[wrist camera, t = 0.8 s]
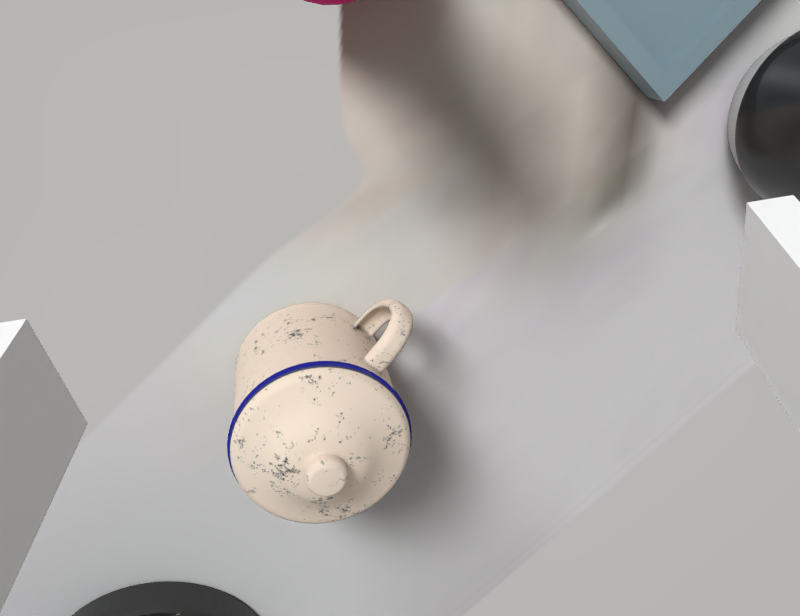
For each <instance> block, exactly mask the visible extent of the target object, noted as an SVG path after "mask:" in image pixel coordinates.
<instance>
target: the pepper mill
mask: <svg viewBox="0 0 800 616" xmlns="http://www.w3.org/2000/svg"><path fill="white" fill-rule="evenodd" d="M304 1H307V2H312V3H317V4H321V5H332V4H333V5H339V4H344V3H348V2H352V1H355V0H304Z"/></svg>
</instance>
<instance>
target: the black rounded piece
mask: <svg viewBox="0 0 800 616" xmlns="http://www.w3.org/2000/svg"><path fill="white" fill-rule="evenodd" d="M728 140H729V145H730V149H731V152H732V155H733V157H734V160H735V162H736V164H737V166H738V167H739V169H740V170H741V172H742V174H743V176H744V178H745V180H746V181H747V183H748V184H749V186H750V187H751V188H752V189H753V190H754V192H755V193H756V194H758V195H759V196H760V197H761V198H762V199H764V200H766V199H772V198H778V197H784V196H790V195H794V196H795V197H796V198H797V199H798V201H799V202H800V31H798V32H796V33H795V34H793V35H791V36H789V37H787V38H785V39H783V40H782V41H780V42H778V43H777V44H775V45H774V46H772V47H771V48H770V49H768V50H767V51H766V52H765V53H764V54H762V55H761V56H760V57H759V58H758V59H757V60H756V61H755V62H754V63H753V64H752V66H751V67H750V68H749V69H748V71H747V72H746V73H745V75H744V76H743V78H742V80H741V81H740V83H739V85H738V87H737V89H736V91H735V93H734V96H733V99H732V102H731V105H730V110H729V115H728Z"/></svg>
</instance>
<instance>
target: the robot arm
mask: <svg viewBox="0 0 800 616" xmlns="http://www.w3.org/2000/svg"><path fill="white" fill-rule="evenodd" d="M736 331H737V333H738V334H739V336H740V338H741V339H742V341H743V343H744V344H745V346H746V348H747V349H748V351H749V353H750V354H751V356H752V358H753V359H754V361H755V363H756V364H757V366H758V367H759V369H760V371H761V372H762V374H763V376H764V377H765V379H766V381H767V382H768V384H769V386H770V387H771V389H772V390H773V392H774V394H775V395H776V397H777V399H778V401H779V402H780V404H781V406H782V407H783V409H784V410H785V412H786V414H787V416H788V417H789V419H790V420H791V422H792V424H793V425H794V427H795V429H796V430H797V432H798V434H799V435H800V202H799V201H798V199H797V198H796V197H795V196H794V195H790V196H784V197H778V198H772V199H766V200H759V201H753V202H747V206H746V217H745V229H744V240H743V251H742V262H741V273H740V285H739V296H738V307H737V318H736ZM86 426H87V422H86V420H85V418H84V416H83V415H82V413H81V411H80V409H79V408H78V406H77V405H76V403H75V401H74V399H73V397H72V396H71V394H70V392H69V391H68V389H67V387H66V385H65V384H64V382H63V380H62V379H61V377H60V375H59V373H58V372H57V370H56V368H55V367H54V365H53V363H52V361H51V360H50V358H49V356H48V355H47V353H46V351H45V349H44V348H43V346H42V345H41V343H40V341H39V339H38V337H37V336H36V334H35V332H34V331H33V329H32V327H31V325H30V324H29V322H28V320H27V319H21V320H15V321H9V322H3V323H0V612H1V610H2V607H3V605H4V603H5V601H6V599H7V597H8V595H9V592H10V590H11V588H12V586H13V584H14V582H15V579H16V577H17V575H18V573H19V571H20V569H21V566H22V564H23V562H24V560H25V558H26V556H27V553H28V551H29V549H30V547H31V545H32V543H33V541H34V538H35V536H36V534H37V532H38V530H39V528H40V525H41V523H42V521H43V519H44V517H45V515H46V512H47V510H48V508H49V506H50V504H51V502H52V500H53V497H54V495H55V493H56V491H57V489H58V487H59V484H60V482H61V480H62V478H63V476H64V474H65V471H66V469H67V467H68V465H69V463H70V461H71V458H72V456H73V454H74V452H75V450H76V448H77V446H78V443H79V441H80V439H81V437H82V435H83V432H84V430H85V428H86ZM72 616H257V615H256V614H255V613H254V612H253V611H252V610H251V609H250V608H249V607H247V606H246V605H245V604H243V603H242V602H241V601H239V600H237V599H236V598H234V597H232V596H230V595H228V594H226V593H224V592H221V591H219V590H216V589H213V588H210V587H206V586H202V585H197V584H191V583H183V582H154V583H145V584H139V585H134V586H130V587H126V588H122V589H119V590H116V591H113V592H111V593H108V594H106V595H104V596H102V597H99V598H97V599H96V600H94V601H92V602H90V603H89V604H87V605H85V606H84V607H82V608H81V609H80V610H78V611H77V612H76V613H75V614H73V615H72Z"/></svg>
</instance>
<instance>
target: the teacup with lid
mask: <svg viewBox="0 0 800 616" xmlns="http://www.w3.org/2000/svg"><path fill="white" fill-rule="evenodd" d="M388 321H389V323H388V326H387V328H386V330H385V332H384V333H383V335H382V336H381V338H380V339H379V340H378V342H377V341H376V339H375V337H374V336H373V335H374V334H375V333H376V332H377V331H378V330H379V329H380V328H381V327H382V326H383V325H384V324H385V323H387V322H388ZM412 325H413V317H412V314H411V311H410V310H409V309H408V308H407V307H406V306H405V305H404V304H402V303H401V302H399V301H398V300H395V299H386V300H382V301H380V302H378V303H376V304H375V305H373V306H372V307H370V308H369V309H368V310H367V311H366V312H365V313H364V314H363V315H362V316H361V317H360V318H359V319H358V318H357V317H356V316H354V315H353V314H351V313H349V312H347V311H345V310H344V309H341V308H338V307H335V306H332V305H327V304H321V303H303V304H297V305H292V306H288V307H285V308H283V309H280V310H278V311H276V312H274V313H272V314H270V315H269V316H267V317H265V318H264V319H263V320H261V321H260V322H259V323H258V324H257V325H256V326H255V327H254V328H253V329H252V330H251V331H250V333H249V334H248V335H247V337H246V338H245V340H244V342H243V344H242V346H241V348H240V350H239V353H238V357H237V361H236V370H235V395H234V417H233V420H232V423H231V425H230V429H229V434H228V443H227V448H228V458H229V463H230V467H231V469H232V472H233V474H234V476H235V478H236V480H237V482H238V483H239V485H240V486H241V488H242V489H243V491H244V492H245V493H246V494H247V496H248V497H249V498H250V499H251V500H252V501H254V502H255V503H256V504H257V505H259V506H260V507H261V508H263V509H264V510H266V511H268V512H269V513H272V514H274V515H276V516H278V517H281V518H283V519H287V520H290V521H295V522H300V523H328V522H334V521H338V520H342V519H346V518H349V517H351V516H354V515H356V514H358V513H360V512H362V511H364V510H366V509H368V508H369V507H371V506H372V505H374V504H375V503H377V502H378V501H379V500H380V499H381V498H383V497H384V496H385V495H386V494H387V493H388V492H389V491H390V489H391V488H392V487H393V486H394V484H395V483H396V482H397V480H398V479H399V477H400V475H401V473H402V472H403V470H404V467H405V465H406V462H407V459H408V455H409V452H410V447H411V424H410V419H409V415H408V412H407V410H406V407H405V405H404V403H403V401H402V400H401V398H400V397H399V395H398V394H397V392H396V391H395V390H394V388H393V385H392V382H391V379H390V376H389V374H388V371H387V367H388V366H389V365H390V363H391V362H392V361H393V360H394V359H395V358H396V356H397V355H398V354H399V352H400V351H401V350H402V348H403V347H404V345H405V343H406V341H407V339H408V337H409V335H410V332H411V329H412Z"/></svg>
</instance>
